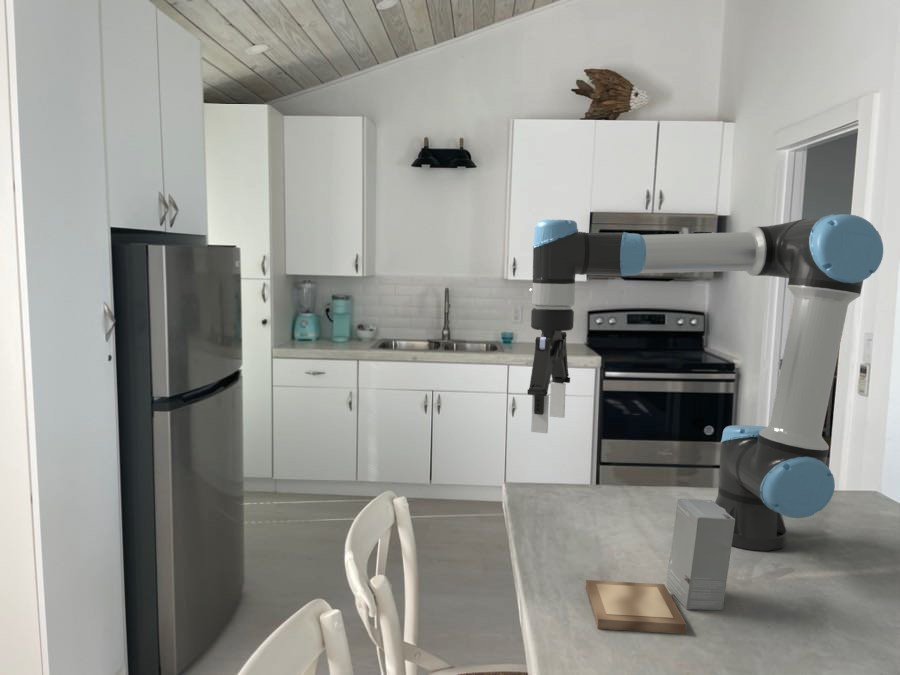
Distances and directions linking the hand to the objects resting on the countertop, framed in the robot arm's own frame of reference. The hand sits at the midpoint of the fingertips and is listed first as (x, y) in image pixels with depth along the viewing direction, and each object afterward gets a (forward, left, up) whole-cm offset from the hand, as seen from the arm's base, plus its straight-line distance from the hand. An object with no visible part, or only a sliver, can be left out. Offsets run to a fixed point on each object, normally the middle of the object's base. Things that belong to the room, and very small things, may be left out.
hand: (548, 424), depth 124 cm
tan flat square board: (-13, +18, -25) cm, 33 cm away
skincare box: (-24, +13, -26) cm, 38 cm away
